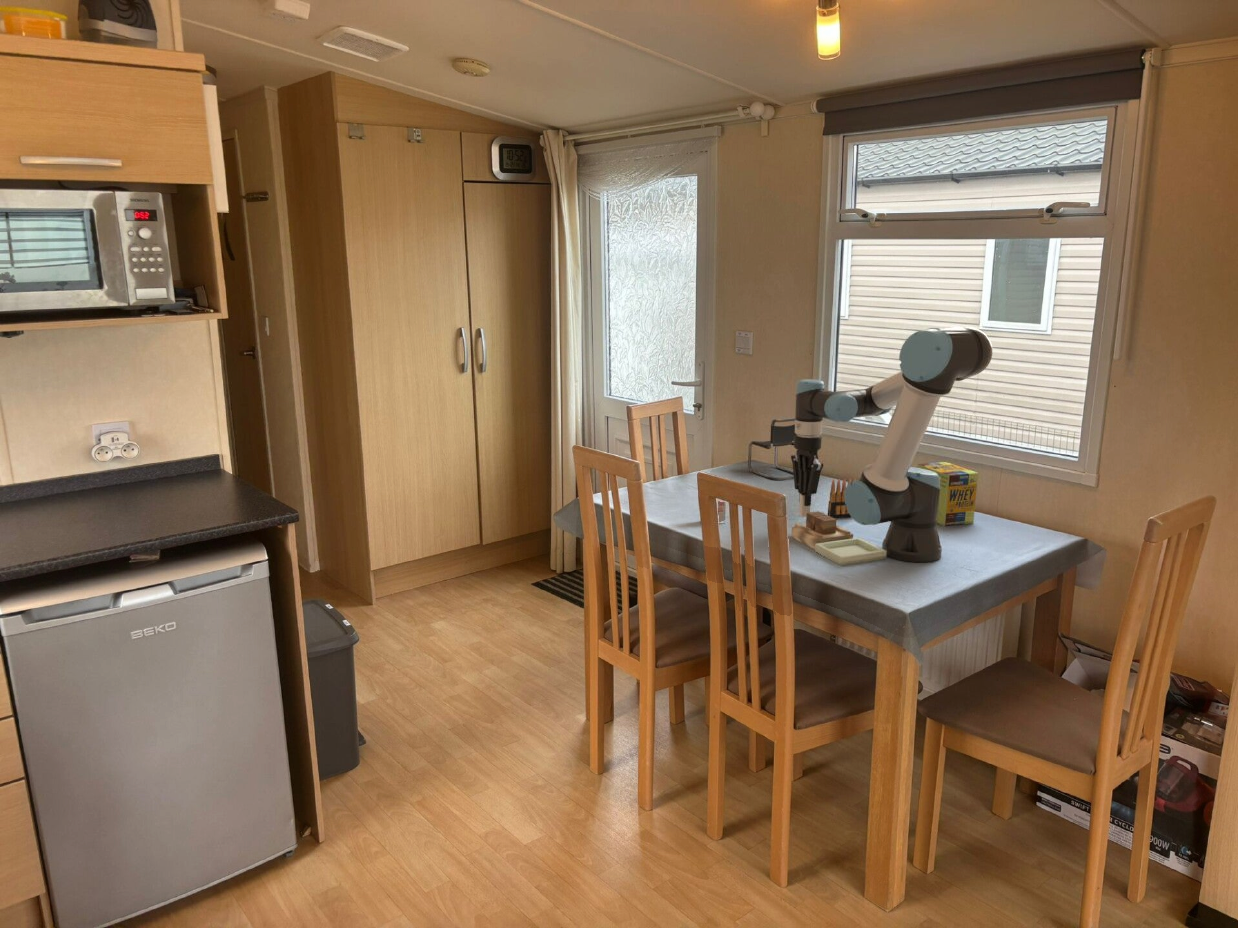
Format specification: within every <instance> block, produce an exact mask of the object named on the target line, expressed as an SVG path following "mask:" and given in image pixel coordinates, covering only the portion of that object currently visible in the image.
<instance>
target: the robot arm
mask: <svg viewBox="0 0 1238 928" xmlns="http://www.w3.org/2000/svg"><path fill="white" fill-rule="evenodd" d="M992 356H993V345H992V341H991V340H990V338H989V337H988V336H987V334H985V332H983V331H982V330H980V329H978V328H975V327H971V326H960V327H947V328H938V327H937V328H936V327H931V328H927V329H921V330H918V331H916V332H913V333H912V334H911V335H909V336H908V337H907V338H906V340H905V341H904V342H903V343H902V346H901V348H900V351H899V356H898V360H899V361H900V364H899V367H900V370H901V371H899V372H896V373H895V374H893V375H891V376H889V377H887V378H885V379H883V380H881V381H879V382H877V383H875V384H874V385H871V386H869V387H867V388H862V389H853V390H850V389H849V390H841V391H839V390H838V391H832V390H827V389H825V388H826V387H825V383H824V381H822V380H821V379H812V378H811V379H808V378H806V379H800V380H799V381H798V382H797V384H796V392H795V416H794V418H795V421H794V422H795V433H796V434H797V435H795V436H794V441H793V442H794V446H793V448H794V449H795V450H796V452H795V454H791V455H790V460H791V462H792V471H793V474H792V475H793V476H794V479H793V482H794V483H793V484H794V489H795V490H797V493H799V495H798V502H799V505H798V507H799V509H798V516H799V517H801V518H806V514H807V513H809V512H811V505H812V496H813V495H816V494H817V492H818V487H819V482H820V477H821V473H822V470H823V468H824V463H823V462H820V461H819V455H818V451H820V450H821V449H822V441H823V440H822V434H823V422H824V421H823V419H827V420H831V421H834V422H836V423H839V422H841V423H847V422H850V421H852V419H856V418H863V417H878V416H881V415H886V414H888V413H890V411H891V409H892V408H893V407H895V409H894V410H893V413H892V416H891V418H890V420H889V423H888V425H887V428H886V431H885V433H884V435H883V438H882V440H881V442H880V445H879V447H878V450H877V453H876V455H875V457H874V460H873V462H872V463H869V464H867V465H865V466H864V468H863V471H862V473H861V475H860V476H859V477H860V478H859V479H856V480H855V481H854V480H853V481H852V480H851V482H850V483H849V484H848V483H847V484H846V489H845V495H844V498H845V504H846V507H847V510H848V512H849V514H850V516H851V517H850V518H851V519H853V520H854V521H855V522H856V523H858V524H860V525H863V526H871V525H873V526H877V525H879V524H884V523H889V522H890V524H889V527H888V530H887V531H886V534H885V537H884V539H883V541H882V543H881V545H882V546H881V548H882V549H884V550H886V551H887V553H886V557H889V558H892V559H895V560H898V561H902V562H910V563H929V562H935V561H938V560H940V559H941V557H942V551H943V549H942V545H941V541H940V535H939V533H938V528H937V525H938V523H937V517H938V506H939V496H940V490H941V488H940V477H939V475H938V474H937V473H935V472H933V471H930V470H926V469H921V468H917V467H915V466H913V467H912V466H911V465H912V463H913V461H914V458H915V456H916V454H917V452H918V449H919V447H920V445H921V443H922V441H923V438H924V436H925V433H926V431H927V429H928V427H929V424H930V422H931V420H932V417H933V415H934V413H935V411H936V408H937V406H938V403H939V401H940V400H941V397H943V396H946V395H949V394H950V393H951V391H952V389H953V386H954V384H955V382H962V381H964V380H967V379H968V378H971V377H974V376H976V375H979V374H981V373H982V372H983V371H984V370H986V369H987V367H988V366H989V365H990V364H991V360H992V358H993V357H992Z"/></svg>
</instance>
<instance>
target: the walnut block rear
mask: <svg viewBox="0 0 1238 928" xmlns="http://www.w3.org/2000/svg"><path fill="white" fill-rule="evenodd" d="M827 515H828V514H826V513H823V512H821V511H818V510H817V511H810V512H809V513H807V514H806V517H805V518H806V519H805V525H806V527H808V528H810V529H812V530H815V522H816V517H820V516H827Z"/></svg>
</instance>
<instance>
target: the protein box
mask: <svg viewBox="0 0 1238 928" xmlns="http://www.w3.org/2000/svg"><path fill="white" fill-rule="evenodd" d="M916 468H921V469H926V470H930V471H933V472H935V473H937V474H938V475H939V477H940V488H941V490H940V496H939V506H938V517H937V524H940V525H941V526H944V527H948V526H957V525H959V526H960V525H966V524H974V522H975V521H974V520H975V510H976V501H977V500H976V499H977V492H978V491H977V489H978V480H979V479H978V478H979V472H977V471H973V470H972V469H967V468H965V467H962V466H959V465H956V464H953V463H949V462H944V461H943V462H928V463H917V467H916Z"/></svg>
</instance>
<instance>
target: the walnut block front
mask: <svg viewBox="0 0 1238 928" xmlns="http://www.w3.org/2000/svg"><path fill="white" fill-rule="evenodd" d="M836 525H837V518H836V519H835V518H832V517H830V516H820V517H816V522H815V531H816V532H818V533H820V534H822V535H827V534H834V533H836Z"/></svg>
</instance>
